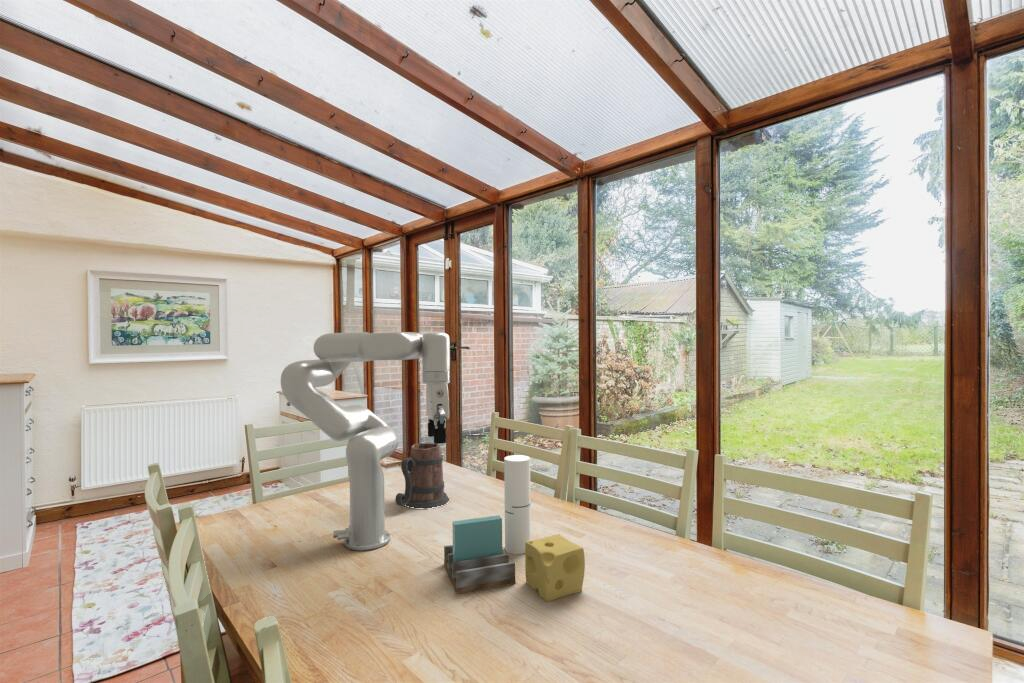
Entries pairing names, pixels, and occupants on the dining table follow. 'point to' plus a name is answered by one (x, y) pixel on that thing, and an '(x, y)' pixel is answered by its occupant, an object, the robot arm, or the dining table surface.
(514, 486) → the cylindrical container
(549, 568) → the cheese
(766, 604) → the dining table surface
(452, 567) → the rack
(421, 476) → the tankard
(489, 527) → the teal slab
